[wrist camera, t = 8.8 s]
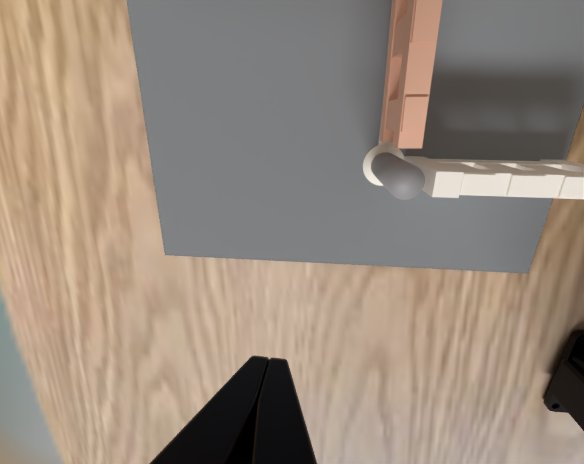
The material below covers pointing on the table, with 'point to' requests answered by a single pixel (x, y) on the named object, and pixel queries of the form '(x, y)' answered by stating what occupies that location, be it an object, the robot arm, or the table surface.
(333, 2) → the mat
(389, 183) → the fence gate
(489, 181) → the fence fixed
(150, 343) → the table surface
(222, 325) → the table surface
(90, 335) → the table surface
